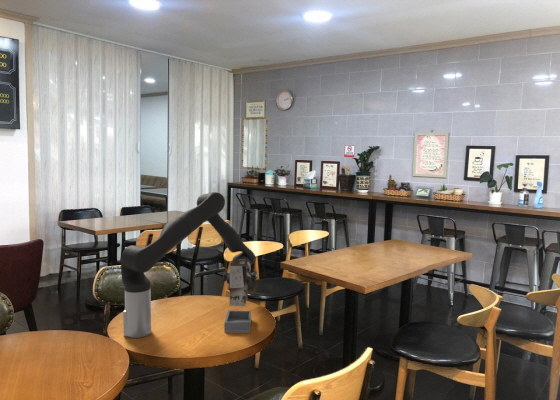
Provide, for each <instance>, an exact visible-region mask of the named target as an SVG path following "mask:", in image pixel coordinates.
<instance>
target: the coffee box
mask: <svg viewBox="0 0 560 400" xmlns="http://www.w3.org/2000/svg"><path fill="white" fill-rule="evenodd" d="M247 267H248V260H233V259H232V260H231V262H230V265H229V273H230V284H229V299H228V300H229V302H228V303H229V304H228V305H229V307H246V304H247V301H248V285H247Z"/></svg>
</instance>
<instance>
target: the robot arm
mask: <svg viewBox="0 0 560 400" xmlns="http://www.w3.org/2000/svg"><path fill="white" fill-rule="evenodd" d="M225 205H226V201H225V197H224V195H223V194H222V193H220V192H217V191H213V192H208V193H204V194H201V195H200V196H198V198H197V200H196V206H195V207H193V208H191V209H188V210H186V211H184V212H182V213H180V214H178V215H176V216H175V217H174V218H172V219H171V220H169V221H168V222H167V223H166V224H165V225H164V226H163V228H162V229H161V232H160V234H159V236H158V238H157V239H156V240H154V241H153V242H151V243H150V244H148V245H147V246H144V247H143V246H139V245H134V244H133V245H132V244H131V245H129V246H127V247H125V249H124V250H123V252H122V254H121V257H120V270H121V273H120V274H121V282H122V284H123V287H124V310H123V311H122V320H123V322H122V323H123V337H127V338H131V339H133V338H134V339H138V338H144V337H147V336H149V335H150V334H151V333H152V303H151V302H152V299H151V298H152V297H151V296H152V294H151V290H152V289H151V287H152V286H151V281H150V279H149V278H148V277H147V276H146V275H145V273H147V272H148V271H150V270H151V269H152V268H153V267H154V266H156V264H158V263H159V262H160V261H161V259H163V257H164V256H165V255H166V254H168V253H169V252H170V251H172V249H174V248H175V247H176V246H177V245H179V244H180V243H181V242H182V241H183V240H185V239H187V237H188V236H190V235H191V234H192V233H194V232H195V231H196V230H197V229H199V227H201V225H203V224H205V222H206V221H207V222H208V223H209V224H210V225H211V226H212V228H213V229H214V230H215V231H216V233H218V235H219V237H220V238H221V239H222V241H223V243H224V244H225V246H226V247H227V249H228V250H229V252H231V253H233V254H234V253H238V252H240V253H238V254H236V255H233V257H232V260H248V267H247V286H248V285H249V284H251V283H252V282H256V281H257V279H258V271H253V272H251V266H252V265H253V264H254V263H255V262H256V260H257V259H256V254H255V253H254V252H253V251H252V250H251V249H250V248H249V247H248V246H247V245H246V244H245V243H244V242H243V241H242V239H241V238H240V235H239V233H237V231H236V230H235V229H234V227H233V226H231V225H230V224H229V223H228V222H226V220H224V219H223V218H222V217H221V215H220V214H219V213H220V212H222V210H223V209H224V207H225ZM222 276H223V277H222V279H223V282H226V284H228V285H230V272H228V271H226V270H223V274H222Z"/></svg>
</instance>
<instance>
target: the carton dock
mask: <svg viewBox="0 0 560 400" xmlns="http://www.w3.org/2000/svg"><path fill="white" fill-rule="evenodd" d="M251 323H252V310H238V309H237V310H236V309H235V310H227V311H226V317H225V320H224V327H223V328H224V330H223V331H224V333H232V334H233V333H239V334H241V333H242V334H244V333H245V334H246V333H247V334H250V333H251V332H250V331H251V326H252V325H251Z"/></svg>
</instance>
